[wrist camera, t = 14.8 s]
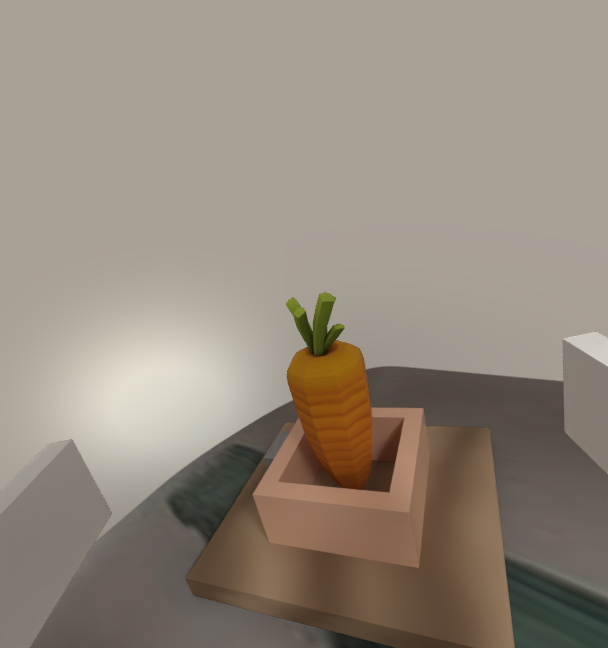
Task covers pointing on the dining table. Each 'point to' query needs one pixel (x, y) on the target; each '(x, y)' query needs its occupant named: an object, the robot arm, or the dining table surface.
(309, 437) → the carrot
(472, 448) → the walnut board
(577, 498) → the dining table surface
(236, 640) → the dining table surface
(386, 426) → the pink square planter box
